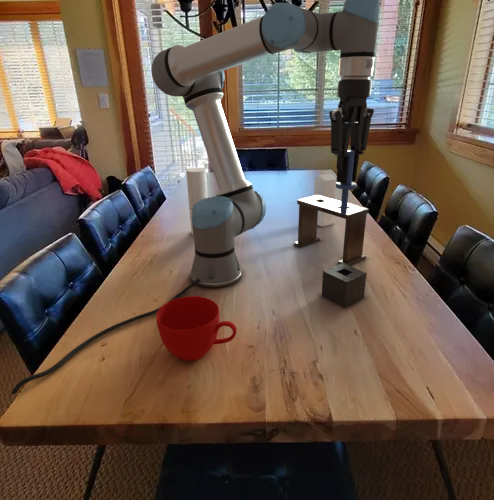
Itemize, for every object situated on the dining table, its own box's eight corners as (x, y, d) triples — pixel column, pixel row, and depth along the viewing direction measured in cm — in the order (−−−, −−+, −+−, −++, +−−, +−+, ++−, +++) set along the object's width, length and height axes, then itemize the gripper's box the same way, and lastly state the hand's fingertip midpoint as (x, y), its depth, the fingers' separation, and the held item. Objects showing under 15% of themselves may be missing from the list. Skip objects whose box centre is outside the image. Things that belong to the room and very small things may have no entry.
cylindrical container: (206, 237, 143) (202, 172, 133) (188, 236, 145) (183, 171, 135) (212, 230, 150) (208, 168, 140) (195, 229, 151) (190, 167, 141)
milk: (332, 224, 155) (337, 171, 146) (322, 227, 152) (325, 172, 143) (322, 220, 159) (326, 168, 151) (312, 222, 156) (315, 170, 148)
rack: (345, 267, 118) (350, 215, 111) (294, 244, 135) (295, 199, 128) (365, 258, 123) (371, 209, 116) (313, 238, 140) (315, 194, 134)
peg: (344, 217, 94) (350, 153, 88) (329, 213, 98) (334, 150, 91) (357, 214, 97) (363, 151, 90) (342, 209, 101) (347, 148, 94)
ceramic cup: (227, 380, 73) (224, 338, 69) (149, 365, 77) (143, 324, 73) (246, 340, 84) (245, 302, 80) (178, 329, 88) (173, 292, 85)
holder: (344, 307, 96) (346, 282, 93) (321, 295, 102) (322, 271, 99) (363, 297, 100) (366, 272, 97) (340, 286, 106) (342, 262, 103)
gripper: (344, 78, 78) (335, 189, 87) (390, 78, 86) (378, 179, 96) (318, 79, 83) (312, 183, 93) (364, 79, 92) (354, 174, 101)
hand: (346, 181), depth 94 cm, fingers closed on peg, 3 cm apart
